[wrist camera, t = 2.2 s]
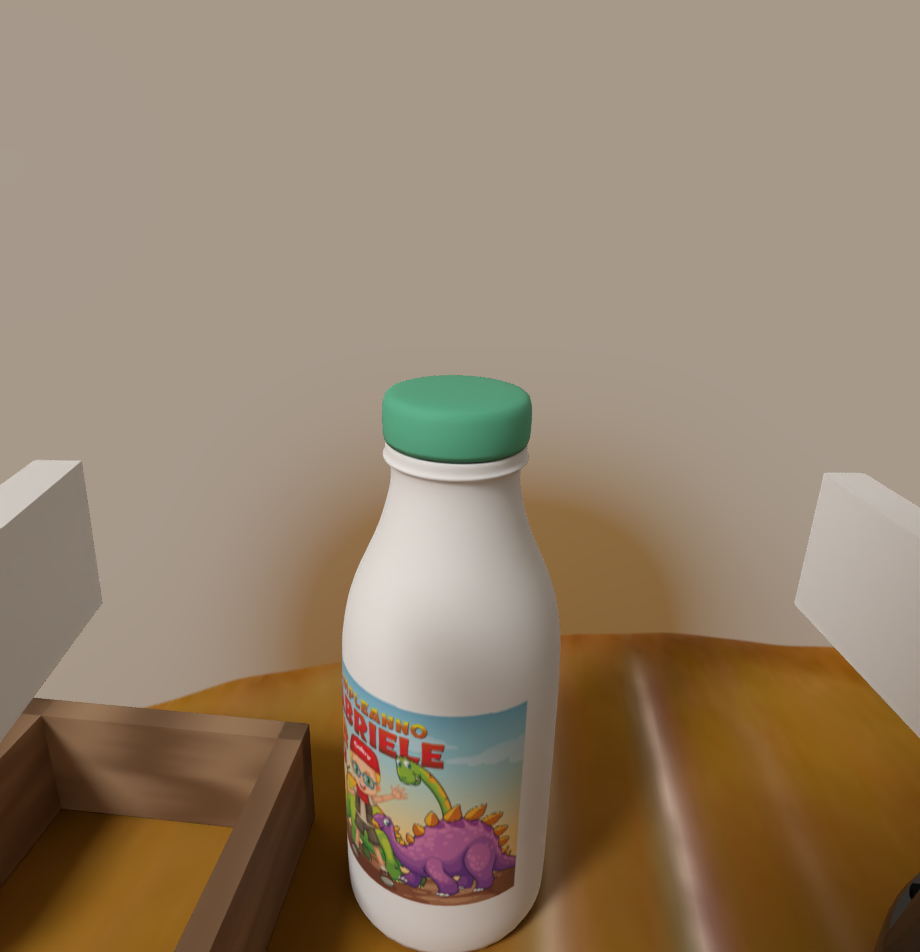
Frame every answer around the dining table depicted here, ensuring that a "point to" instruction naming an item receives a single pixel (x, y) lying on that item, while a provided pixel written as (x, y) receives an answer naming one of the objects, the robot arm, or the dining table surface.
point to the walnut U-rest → (170, 797)
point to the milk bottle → (450, 675)
